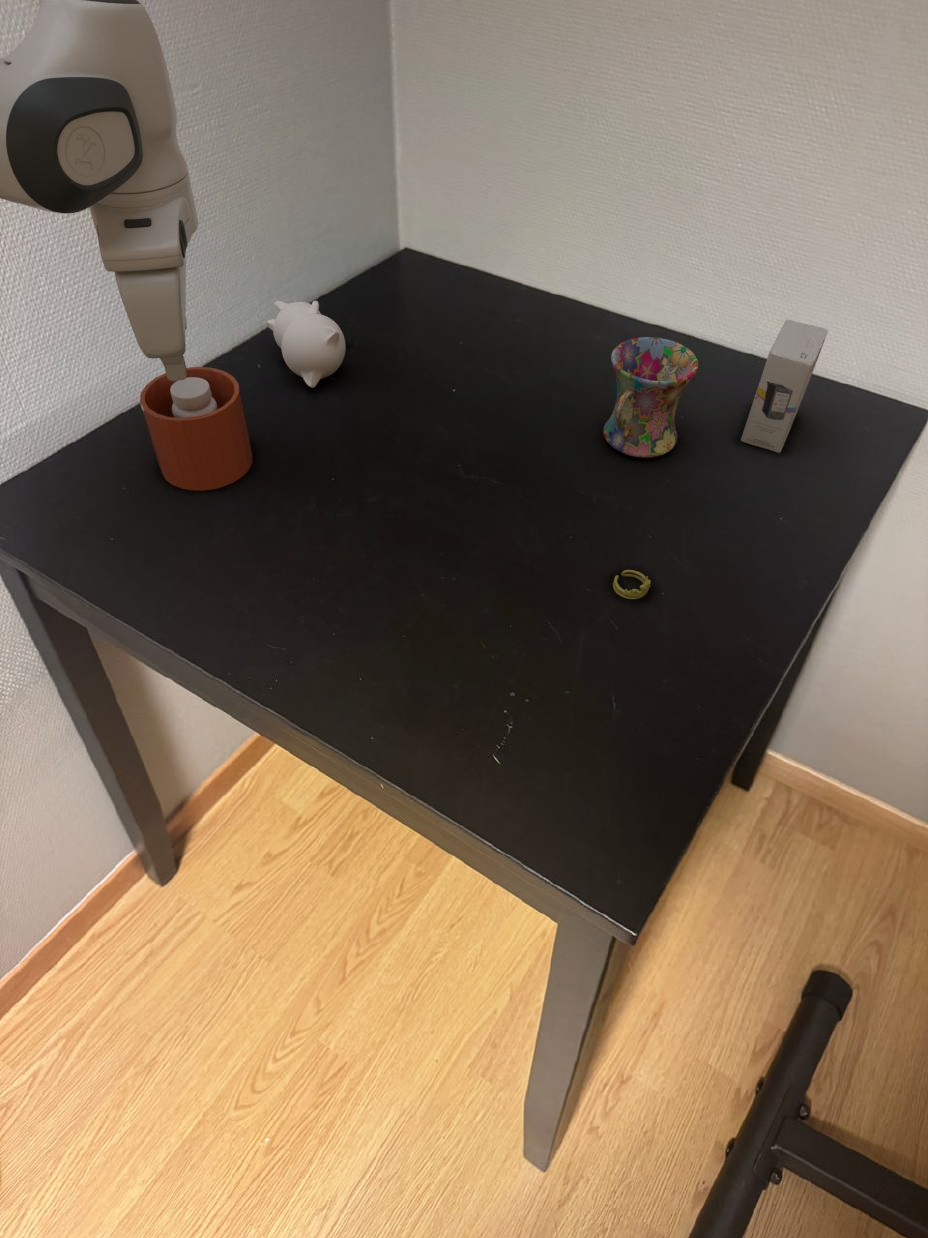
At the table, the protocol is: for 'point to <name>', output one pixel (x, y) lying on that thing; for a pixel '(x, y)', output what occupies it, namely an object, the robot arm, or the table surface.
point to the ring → (635, 592)
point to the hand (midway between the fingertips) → (178, 351)
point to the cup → (199, 433)
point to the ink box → (783, 384)
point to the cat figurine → (308, 340)
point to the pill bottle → (192, 398)
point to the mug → (648, 395)
